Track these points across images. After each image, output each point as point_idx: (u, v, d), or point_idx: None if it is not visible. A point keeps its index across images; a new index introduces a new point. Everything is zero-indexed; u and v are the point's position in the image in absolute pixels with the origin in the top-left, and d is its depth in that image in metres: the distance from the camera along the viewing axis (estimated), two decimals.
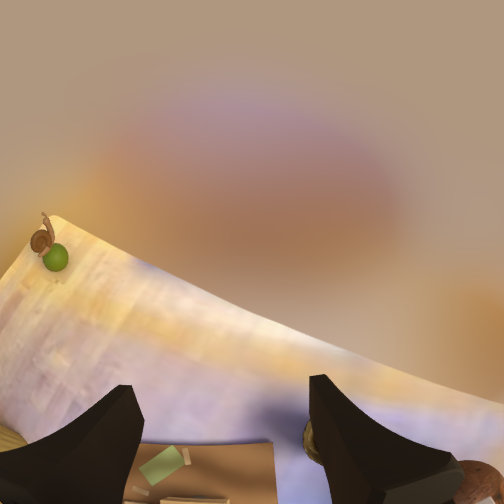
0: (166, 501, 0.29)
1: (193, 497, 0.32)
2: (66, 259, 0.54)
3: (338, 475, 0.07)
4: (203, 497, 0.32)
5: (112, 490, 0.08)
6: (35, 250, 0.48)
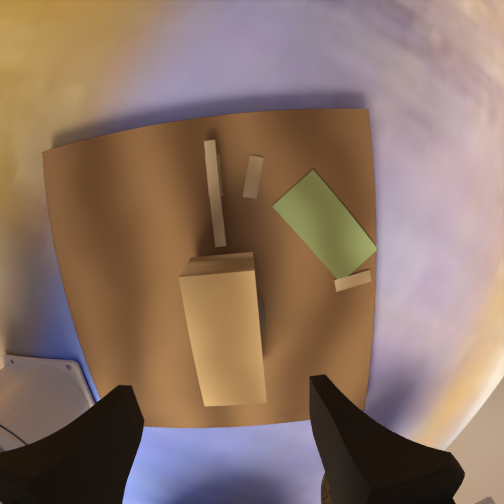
0: (253, 286, 0.15)
1: (260, 305, 0.19)
2: None
3: (338, 475, 0.07)
4: (262, 323, 0.20)
5: (112, 490, 0.08)
6: None
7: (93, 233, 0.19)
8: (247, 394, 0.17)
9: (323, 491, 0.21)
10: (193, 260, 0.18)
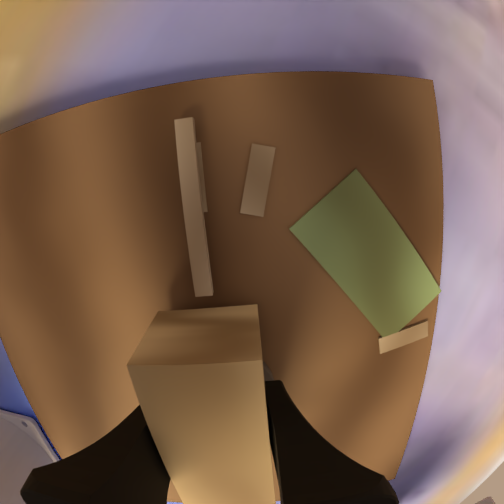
0: (259, 384, 0.08)
1: (267, 379, 0.12)
2: None
3: (279, 483, 0.07)
4: None
5: (158, 496, 0.08)
6: None
7: (24, 267, 0.11)
8: None
9: None
10: (159, 319, 0.11)
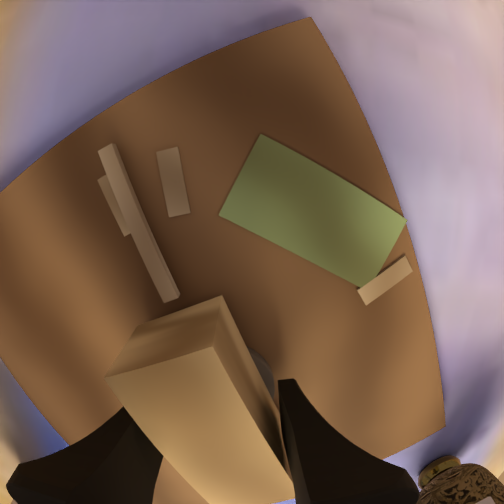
0: (221, 370, 0.08)
1: (259, 366, 0.12)
2: None
3: (297, 482, 0.07)
4: (271, 388, 0.13)
5: (143, 495, 0.08)
6: None
7: (23, 329, 0.12)
8: (270, 494, 0.10)
9: None
10: (137, 332, 0.11)
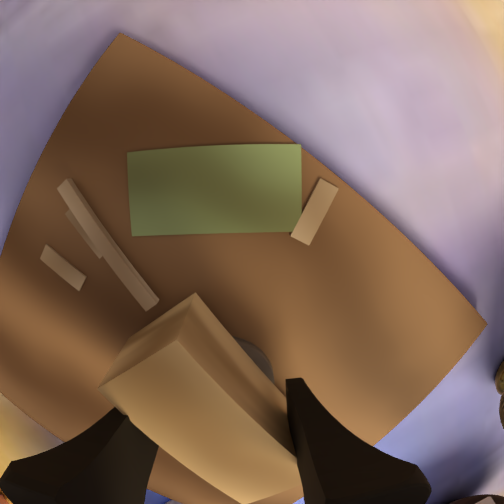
0: (192, 361, 0.09)
1: (250, 353, 0.13)
2: None
3: (307, 480, 0.07)
4: (269, 373, 0.13)
5: (135, 494, 0.08)
6: None
7: (57, 403, 0.14)
8: (286, 479, 0.10)
9: None
10: (128, 343, 0.12)
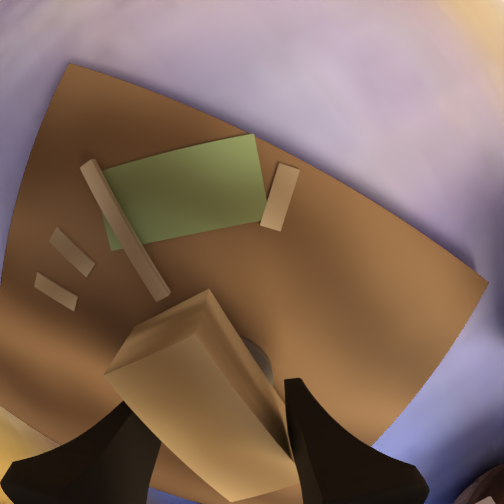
0: (207, 356, 0.09)
1: (254, 354, 0.13)
2: None
3: (305, 480, 0.07)
4: (269, 374, 0.13)
5: (136, 494, 0.08)
6: None
7: (74, 423, 0.15)
8: (277, 479, 0.10)
9: None
10: (134, 332, 0.12)
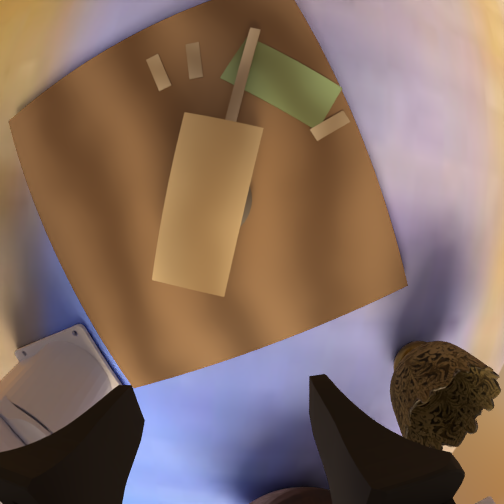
0: (256, 144, 0.14)
1: (248, 195, 0.18)
2: None
3: (338, 475, 0.07)
4: (244, 218, 0.18)
5: (112, 490, 0.08)
6: None
7: (64, 169, 0.18)
8: (206, 277, 0.15)
9: (394, 402, 0.18)
10: None
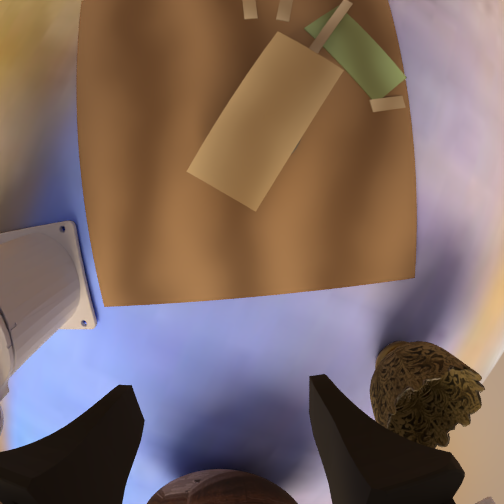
0: (333, 81, 0.13)
1: None
2: None
3: (338, 475, 0.07)
4: None
5: (112, 490, 0.08)
6: None
7: (122, 57, 0.16)
8: (244, 185, 0.14)
9: (377, 391, 0.18)
10: None
